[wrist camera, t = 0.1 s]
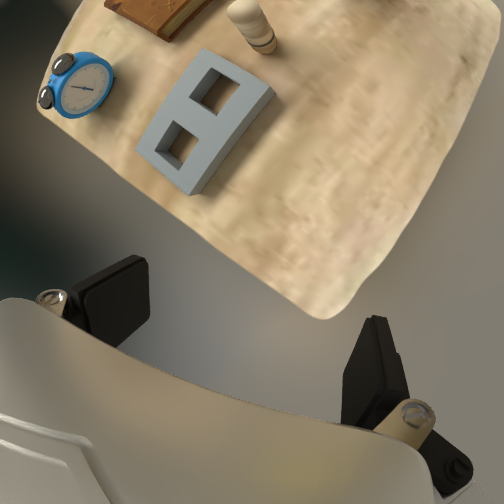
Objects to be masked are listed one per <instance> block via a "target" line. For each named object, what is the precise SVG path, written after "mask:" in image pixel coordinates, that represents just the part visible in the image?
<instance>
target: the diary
mask: <svg viewBox="0 0 504 504" xmlns="http://www.w3.org/2000/svg"><path fill="white" fill-rule="evenodd" d="M211 1H212V0H106V1H105V2H104V7H106V8H108V9H110V10H112V11H114V12H116V13H118V14H120V15H122V16H124V17H125V18H127V19H129V20H131V21H133V22H134V23H136V24H138V25H140V26H141V27H143V28H145V29H147V30H148V31H150V32H152V33H153V34H155V35H156V36H158V37H160V38H162V39H163V40H165V41H167V42H171V41H172V40H173V39H174V38H175V37H176V36H177V35H178V34H179V32H180V31H181V30H182V29H183V28H184V27H185V26H186V25H187V24H188V23H189V22H190V21H191V20H192V19H193V18H194V17H195V16H196V15H197V14H198V13H199V12H200V11H201V10H202V9H203V8H204V7H206V6H207V5H208V4H209V3H210V2H211Z"/></svg>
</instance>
